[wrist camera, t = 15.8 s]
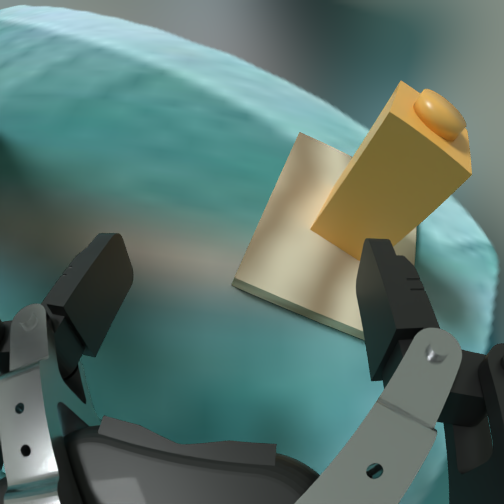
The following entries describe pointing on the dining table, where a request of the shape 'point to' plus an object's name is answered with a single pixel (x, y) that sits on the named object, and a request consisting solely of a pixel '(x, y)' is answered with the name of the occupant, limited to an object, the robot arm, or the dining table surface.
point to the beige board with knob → (306, 244)
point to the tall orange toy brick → (397, 172)
